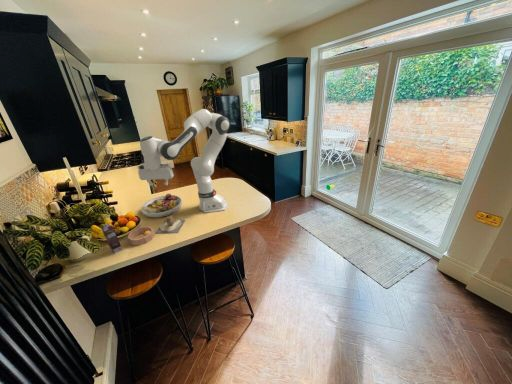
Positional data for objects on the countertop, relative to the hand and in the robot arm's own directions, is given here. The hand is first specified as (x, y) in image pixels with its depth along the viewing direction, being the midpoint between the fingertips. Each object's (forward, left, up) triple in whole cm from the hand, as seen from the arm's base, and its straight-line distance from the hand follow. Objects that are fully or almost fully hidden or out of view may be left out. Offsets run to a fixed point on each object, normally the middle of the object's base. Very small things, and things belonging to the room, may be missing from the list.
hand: (159, 185), depth 135 cm
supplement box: (+23, +24, -30) cm, 45 cm away
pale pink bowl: (-2, +2, -30) cm, 30 cm away
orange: (+9, +13, -28) cm, 32 cm away
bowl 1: (+12, +14, -30) cm, 35 cm away
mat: (-2, +2, -30) cm, 30 cm away
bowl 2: (+15, -23, -31) cm, 41 cm away
